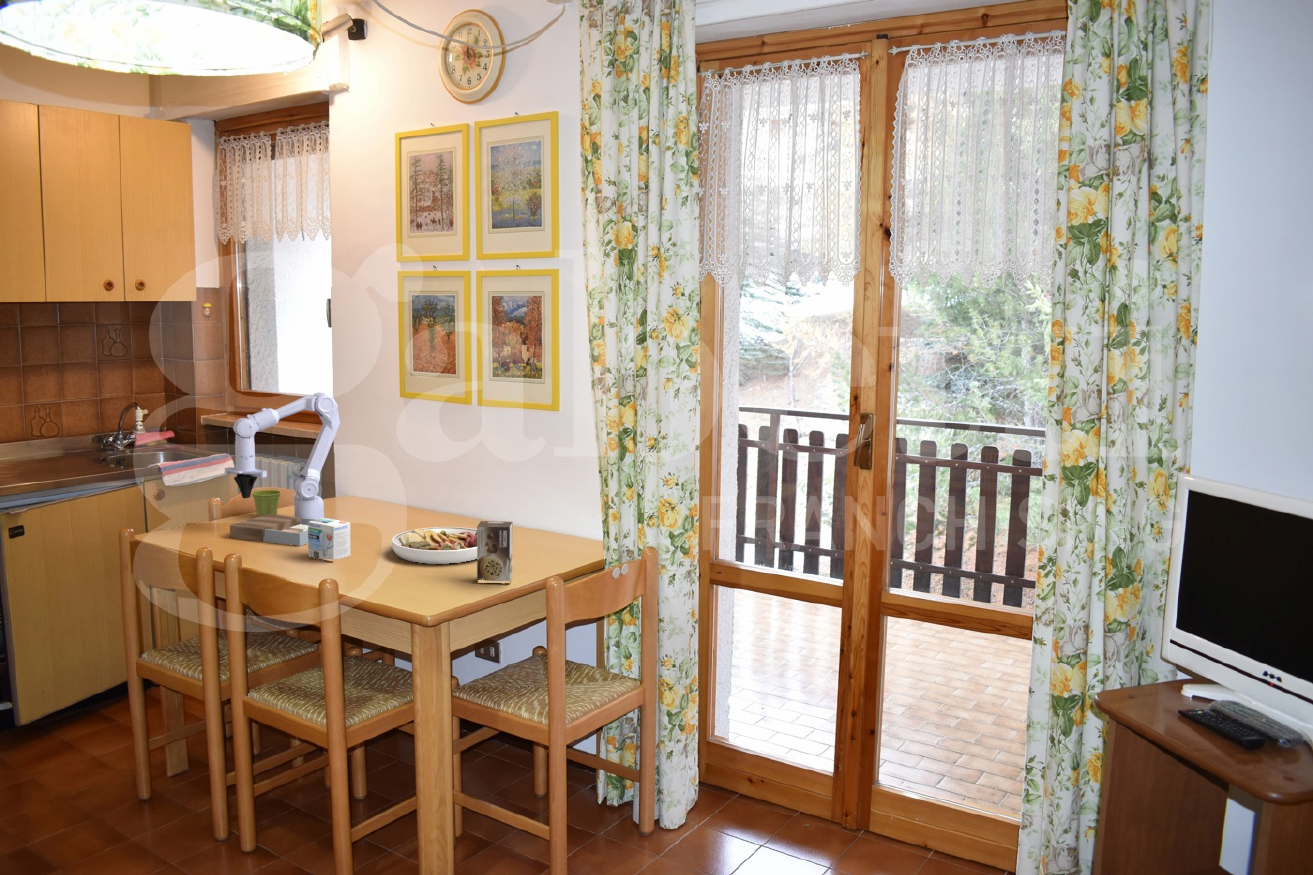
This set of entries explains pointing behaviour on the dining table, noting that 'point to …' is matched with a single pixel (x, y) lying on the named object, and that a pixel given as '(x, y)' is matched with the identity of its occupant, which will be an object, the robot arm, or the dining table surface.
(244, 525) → the dark brown flat block
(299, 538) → the box
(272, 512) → the plant pot
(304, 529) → the cream tile
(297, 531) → the terracotta tile
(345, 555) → the light bulb box
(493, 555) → the coffee box
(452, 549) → the bowl
